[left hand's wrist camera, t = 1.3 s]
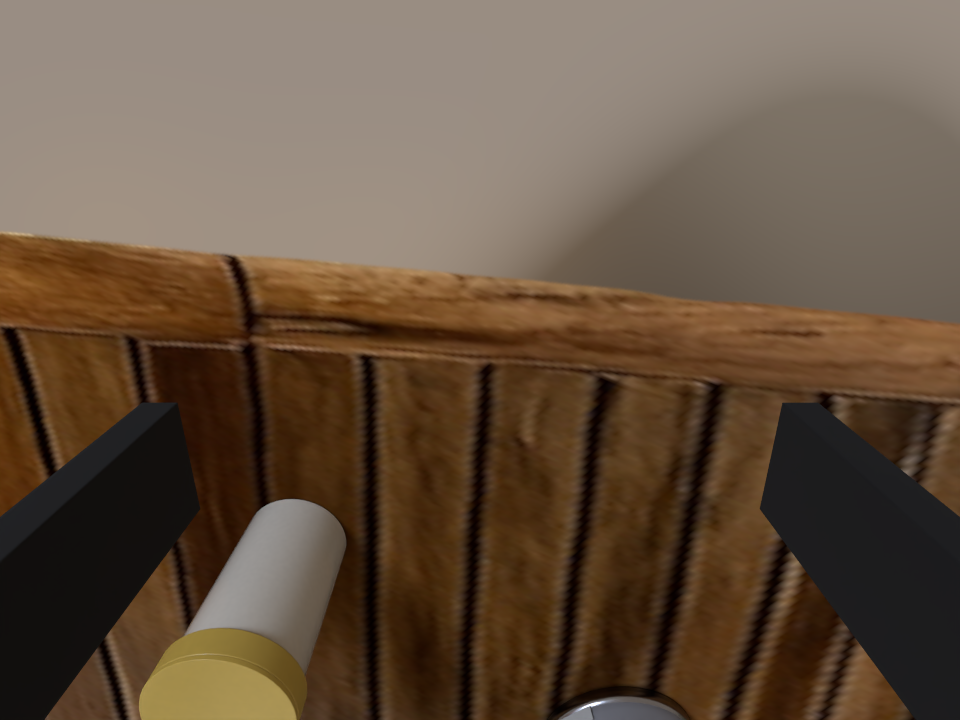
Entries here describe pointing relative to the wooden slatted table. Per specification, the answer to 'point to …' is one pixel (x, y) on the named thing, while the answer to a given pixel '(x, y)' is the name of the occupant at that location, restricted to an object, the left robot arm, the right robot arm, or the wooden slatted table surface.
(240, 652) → the lid
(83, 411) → the wooden slatted table surface
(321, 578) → the jar
